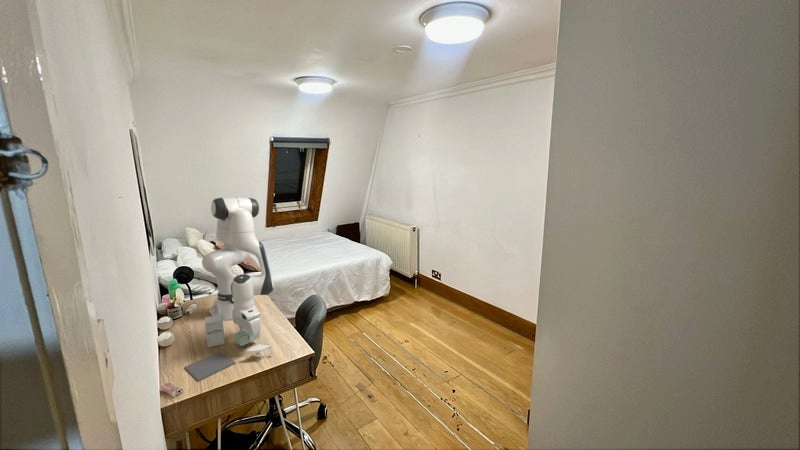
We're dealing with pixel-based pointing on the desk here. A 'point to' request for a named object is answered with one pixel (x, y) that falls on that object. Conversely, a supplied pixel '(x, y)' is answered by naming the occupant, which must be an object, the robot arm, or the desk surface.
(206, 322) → the supplement box
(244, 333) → the card box
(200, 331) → the desk surface
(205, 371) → the rubber mat
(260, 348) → the origami figure
